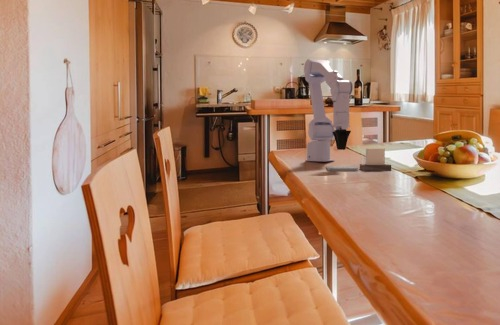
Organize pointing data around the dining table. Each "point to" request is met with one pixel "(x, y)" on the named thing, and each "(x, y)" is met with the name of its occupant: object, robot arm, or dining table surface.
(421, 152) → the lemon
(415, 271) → the dining table surface
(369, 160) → the tan rectangular post
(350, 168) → the tile
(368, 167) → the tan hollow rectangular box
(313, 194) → the dining table surface
